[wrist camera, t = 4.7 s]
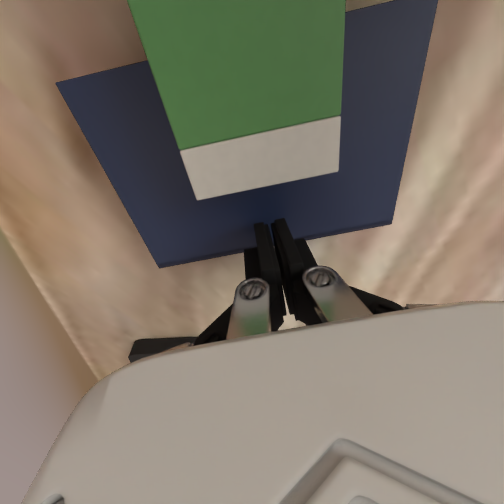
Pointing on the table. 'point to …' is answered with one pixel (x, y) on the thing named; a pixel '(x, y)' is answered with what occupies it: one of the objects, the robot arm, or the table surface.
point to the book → (279, 195)
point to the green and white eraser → (248, 87)
